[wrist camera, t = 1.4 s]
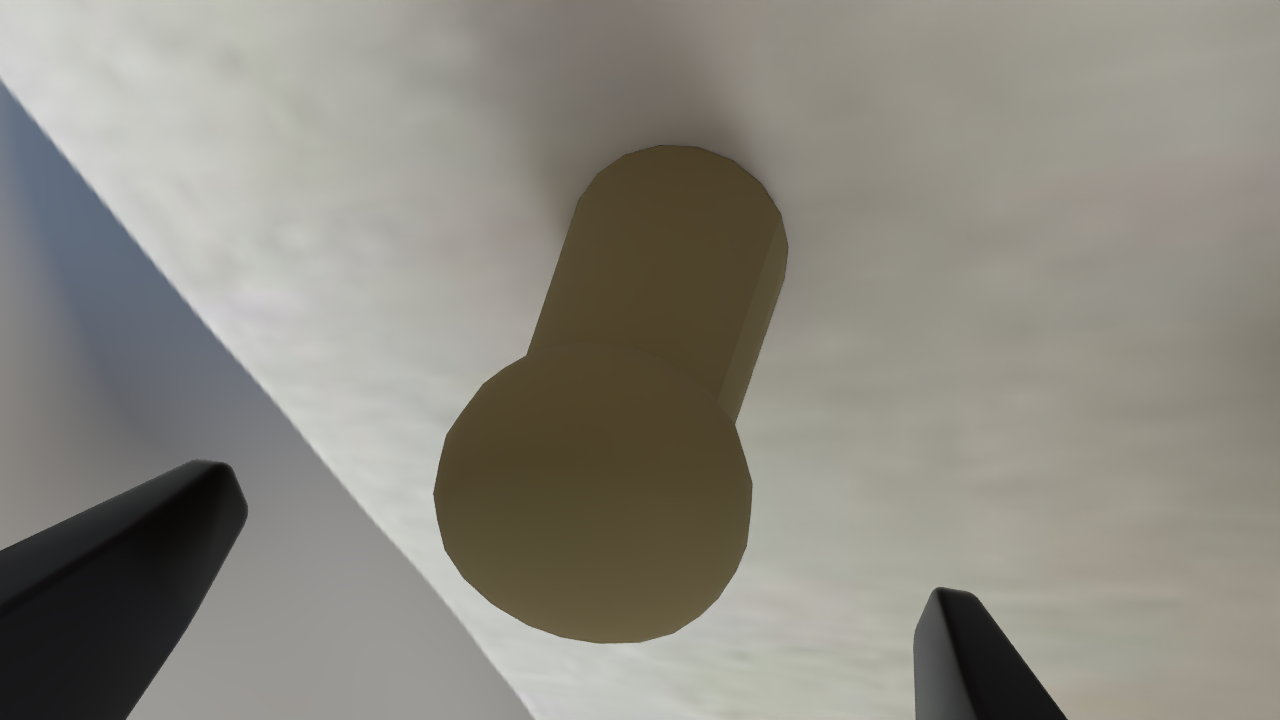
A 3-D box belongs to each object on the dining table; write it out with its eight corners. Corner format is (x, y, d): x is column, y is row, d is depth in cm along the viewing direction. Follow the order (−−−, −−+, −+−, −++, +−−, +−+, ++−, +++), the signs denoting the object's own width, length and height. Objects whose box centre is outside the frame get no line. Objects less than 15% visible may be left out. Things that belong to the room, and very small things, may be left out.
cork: (593, 350, 21) (444, 682, 13) (547, 157, 18) (304, 420, 9) (793, 343, 20) (785, 715, 11) (782, 132, 17) (760, 416, 8)
